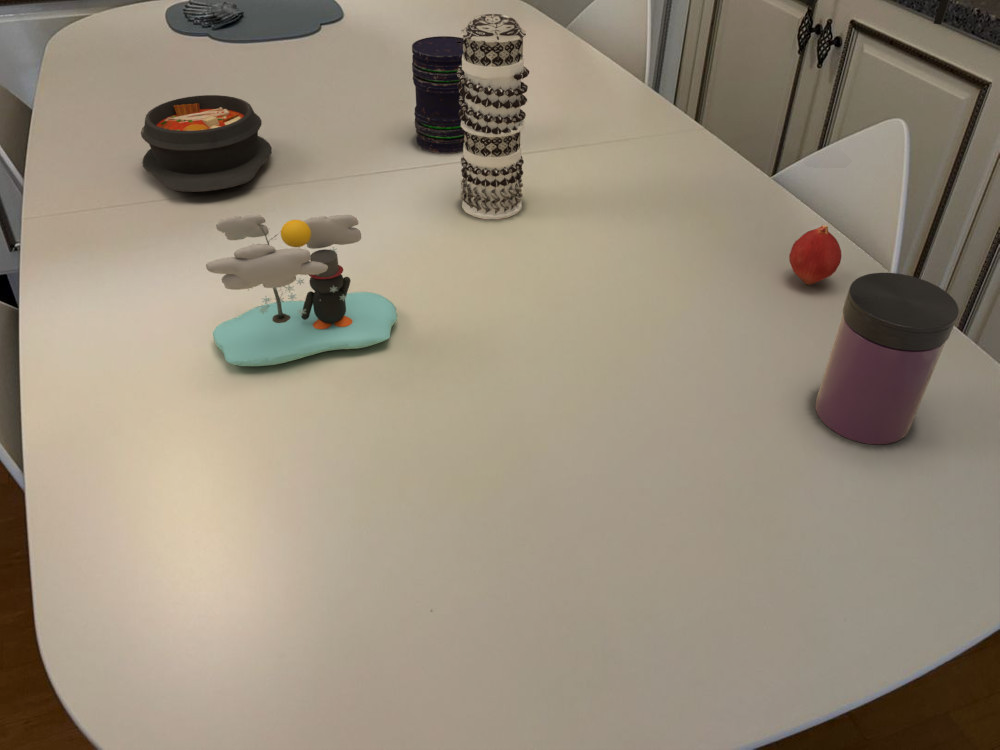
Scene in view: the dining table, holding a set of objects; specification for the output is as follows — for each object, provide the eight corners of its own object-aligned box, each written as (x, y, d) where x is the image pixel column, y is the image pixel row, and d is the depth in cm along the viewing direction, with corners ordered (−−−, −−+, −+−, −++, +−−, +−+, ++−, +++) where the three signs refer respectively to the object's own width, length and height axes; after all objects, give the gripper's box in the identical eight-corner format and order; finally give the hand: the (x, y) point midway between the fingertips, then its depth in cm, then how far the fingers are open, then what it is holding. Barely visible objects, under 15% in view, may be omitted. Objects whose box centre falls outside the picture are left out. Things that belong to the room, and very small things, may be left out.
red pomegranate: (774, 274, 106) (788, 216, 101) (814, 267, 107) (830, 210, 102) (800, 299, 102) (816, 239, 97) (842, 291, 103) (860, 232, 98)
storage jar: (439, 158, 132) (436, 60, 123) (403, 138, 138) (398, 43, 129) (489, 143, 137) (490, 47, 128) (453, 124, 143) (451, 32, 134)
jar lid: (945, 304, 81) (953, 282, 79) (954, 359, 74) (964, 336, 72) (842, 286, 83) (849, 265, 81) (842, 339, 76) (849, 316, 74)
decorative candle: (501, 185, 125) (504, 5, 109) (537, 210, 119) (545, 23, 103) (447, 200, 121) (442, 15, 106) (481, 226, 115) (481, 34, 99)
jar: (907, 396, 87) (950, 288, 79) (912, 453, 81) (960, 341, 73) (816, 378, 89) (848, 271, 81) (813, 433, 83) (849, 322, 75)
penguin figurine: (390, 299, 100) (381, 179, 91) (408, 351, 92) (400, 226, 83) (214, 324, 96) (185, 201, 86) (216, 381, 88) (185, 252, 78)
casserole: (146, 141, 136) (132, 89, 131) (265, 129, 140) (257, 78, 135) (144, 211, 117) (128, 153, 112) (282, 194, 121) (273, 138, 116)
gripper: (796, -224, 84) (754, 3, 97) (1081, -211, 75) (992, 38, 88) (813, -227, 90) (771, -11, 103) (1082, -216, 80) (998, 20, 93)
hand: (873, 12), depth 95 cm, fingers open, 13 cm apart
